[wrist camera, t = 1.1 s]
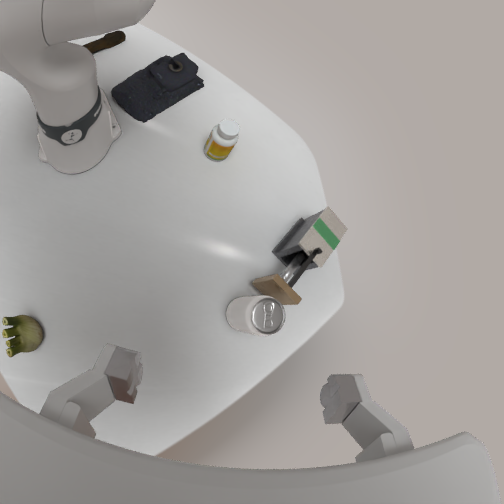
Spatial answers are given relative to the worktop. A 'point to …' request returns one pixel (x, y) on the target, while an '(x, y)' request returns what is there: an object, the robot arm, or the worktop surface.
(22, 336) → the fennel bulb
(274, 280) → the gauge plunger
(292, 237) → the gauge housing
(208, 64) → the worktop surface
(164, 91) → the dark folded fabric
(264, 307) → the can
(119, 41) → the hand tool
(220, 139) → the supplement bottle
